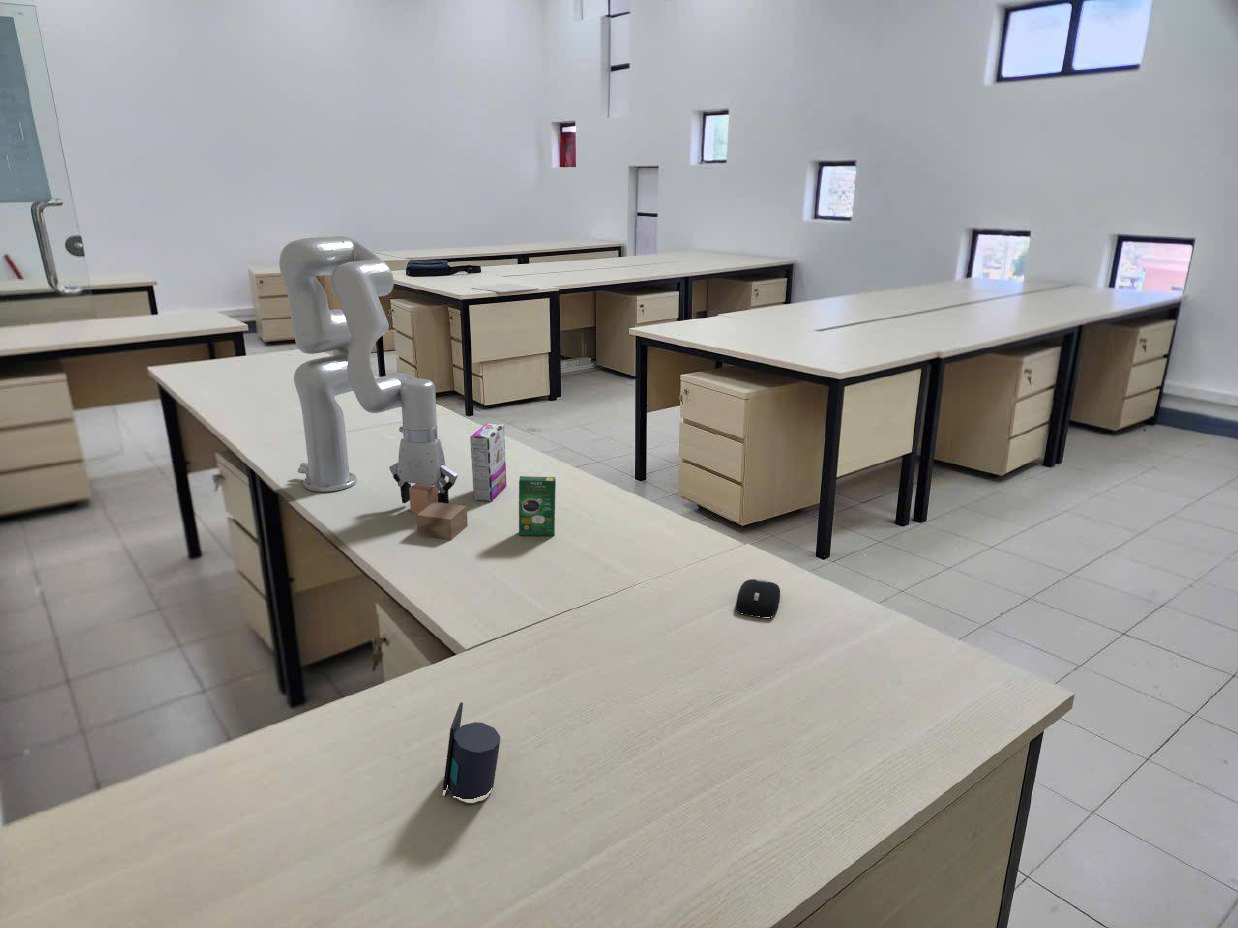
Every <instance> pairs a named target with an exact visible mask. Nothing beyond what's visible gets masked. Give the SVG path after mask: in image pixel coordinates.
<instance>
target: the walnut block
mask: <svg viewBox="0 0 1238 928" xmlns="http://www.w3.org/2000/svg"><path fill="white" fill-rule="evenodd" d="M468 523H469V522H468V506H467V505H461V504H455V503H454V504H452V503H448V504H447V503H439V502H433V503H432V504H430V505H429V506H428V507H426V508H425V509H424V510H422V511H421V512H420V513H416V526H417V527H416V530H417V536H419V537H427V538H434V539H440V540H442V539H443V540H447V541H448V540H449V541H453V540H454V538H456V537H457V536H458V535H460V533H462V532H463V531H464V530H465V529H466V528H467V527H468Z"/></svg>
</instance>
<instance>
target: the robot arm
mask: <svg viewBox="0 0 1238 928" xmlns="http://www.w3.org/2000/svg"><path fill="white" fill-rule="evenodd" d="M278 263H279V272H280V276H281V279H282V282H283V284H284V287H285V290H286V293H287V297H288V303H289V305H288V306H289V313H290V319H291V325H292V331H293V336H294V341H295V344H296V346H297V348H298V350H299V351H300V352H302V353H304V354H308V355H313V354H320V353H327V352H328V353H329V352H331V351H332V355H330V356H325V357H319V358H315V359H314V358H313V359H310V360H307V361H305V362H303V363H301V364H300V365H299V366H297V368H296V369H295V372H294V373H293V382H294V387H295V389H296V393H297V395H298V396H297V397H298V399H299V403H300V408H301V412H302V413H301V414H302V423H303V431H304V438H305V440H304V441H305V448H306V449H305V450H306V458H307V459H306V460H307V462H301V463H300V464H299V467H298V468H297V473H298V474H305V478H304V480H303V487H304V488H305V489H307V490H309V491H312V492H320V493H321V492H322V493H325V492H328V493H329V492H336V491H342V490H345V489H348V488H350V487H352V486H354V485H355V484H356V483H357V482H358V481H357V476H356V474H354V473H353V472H350V466H349V463H350V462H349V456H348V455H349V453H348V442H347V441H348V440H347V433H346V422H345V415H344V412H343V409H342V407H341V405H339V403H338V402H337V400H336V399H335V397H337V396H340V395H342V394H347V393H351V392H353V394H354V395H355V398H356V399H357V402H358V404H359V405H360V407H361V408H362V409H363V410H365V411H366V412H368V413H371V414H379V413H384V412H386V411H390V410H393V409H398V408H401V417H402V426H399V428H398V431H399V433H402V435H403V437H402V438H401V439H400V442H399V447H398V448H399V449H398V460H397V461H398V462H395V463H394V464H391V465H389V467H388V468H389V471H390V473H391V475H392V477H393V480H395V482H396V483H397V486H398V487H399V488H400V489H399V490H400V498H401V503H402V504H406V503H408V502H410V493H409V488H410V487H411V486H412V485H411V484H414V485H415V484H422V485H429V486H433V485H435V486H436V487H437V489H438V490H439V493H438V502H439V503H447V504H450V503H449V502H450V501H449V499H450V497H449V490H451V488H452V487H453V486H454V485H455V483H456V481H457V479H458V473H456V472H454V471H453V470H451V469H450V468H448V467H447V466H446V461H445V453H444V449H443V445H442V441H441V439H439V434H438V419H437V418H438V417H437V416H438V415H437V401H436V397H437V396H436V386H435V383H434V382H433V381H432V380H430V379H427V378H417V377H415V376H413V375H411V374H409V373H406V372H396V373H392V374H388V375H384V376H379V377H375V374H374V372H373V368H372V363H371V362H372V361H371V355H372V351H373V348H374V346H375V344H376V343H377V342H378V341H379V339H380V338H381V337H383V336H384V335H385V334H386V333H387V332H388V330H389V327H390V325H389V322H388V319H387V316H386V314H385V310H384V307H383V306H382V303H381V300H380V298H379V297H385V296H387V295H389V294H391V292H392V291H393V289H394V285H395V282H394V281H395V280H394V276H393V273H392V270H391V268H390V267H389V266H388V264H387V263H386V262H385V260H383V259H381V258H380V257H379V256H378V255H376V254H375V253H374V252H372V251H371V250H370V249H368V248H367V247H365V246H364V245H362V244H361V243H359V242H358V241H356V240H355V239H353V238H351V237H348V236H339V235H338V236H324V237H323V236H321V237H319V236H318V237H306V238H300V239H299V238H298V239H295V240H292V241H290V242H289V243H287V244H286V245H285V246H284V247H283V249H282V250H281V253H280V255H279V262H278ZM321 276H331V284H332V286H333V287H332V288H333V289H334V292H335V294H336V295H335V296H336V297H337V301H338V303H339V306H340V308H341V309H339V308H338V309H336V308H335V309H329V303H328V295H327V293H326V290H325V288H324V287H323V285H322V284H321V282H320V280H319V279H317V278H316V277H321ZM446 477H448V478H447V479H448V481H447V480H446Z"/></svg>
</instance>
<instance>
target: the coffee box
mask: <svg viewBox="0 0 1238 928" xmlns="http://www.w3.org/2000/svg"><path fill="white" fill-rule="evenodd" d="M556 484H557V482H556V477H555V476H531V475H530V476H529V475H528V476H527V475H526V476H525V475H520V476H519V479H518V536H525V537H530V536H536V537H538V536H542V537H543V536H544V537H549V536H550V537H552V536H553V537H554V536H555V532H556V531H555V528H556V525H555V524H556V523H555V522H556V517H555V516H556V488H557V487H556Z"/></svg>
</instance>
